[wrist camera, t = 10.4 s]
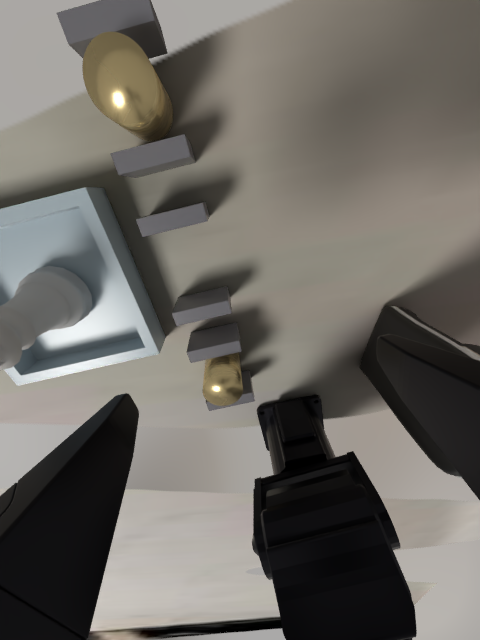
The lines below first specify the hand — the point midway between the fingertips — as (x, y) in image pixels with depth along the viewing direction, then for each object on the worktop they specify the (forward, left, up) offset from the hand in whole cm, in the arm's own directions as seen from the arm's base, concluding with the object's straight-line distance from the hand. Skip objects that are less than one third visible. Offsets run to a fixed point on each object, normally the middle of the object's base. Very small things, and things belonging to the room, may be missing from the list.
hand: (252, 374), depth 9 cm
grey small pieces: (+2, +3, -12) cm, 12 cm away
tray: (+2, +13, -12) cm, 18 cm away
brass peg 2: (-7, +3, -12) cm, 14 cm away
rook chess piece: (+2, +13, -12) cm, 17 cm away
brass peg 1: (+11, +3, -12) cm, 17 cm away
